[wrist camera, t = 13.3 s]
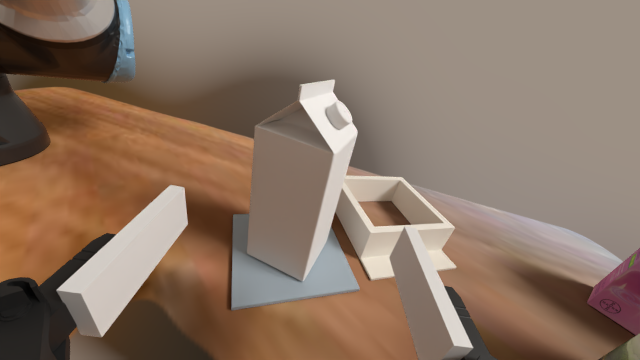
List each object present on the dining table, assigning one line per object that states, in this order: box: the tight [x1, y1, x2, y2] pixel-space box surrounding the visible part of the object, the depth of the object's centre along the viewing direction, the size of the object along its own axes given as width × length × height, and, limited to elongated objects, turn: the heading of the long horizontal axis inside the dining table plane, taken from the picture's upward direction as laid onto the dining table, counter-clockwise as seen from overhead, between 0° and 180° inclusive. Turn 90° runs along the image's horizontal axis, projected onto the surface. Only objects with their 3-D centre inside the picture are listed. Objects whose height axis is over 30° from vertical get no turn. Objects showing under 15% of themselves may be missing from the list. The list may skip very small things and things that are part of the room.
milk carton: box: [247, 80, 357, 281], centre depth 24 cm, size 7×7×19 cm
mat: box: [231, 214, 360, 310], centre depth 29 cm, size 13×13×1 cm
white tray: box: [335, 176, 456, 280], centre depth 36 cm, size 19×13×4 cm
